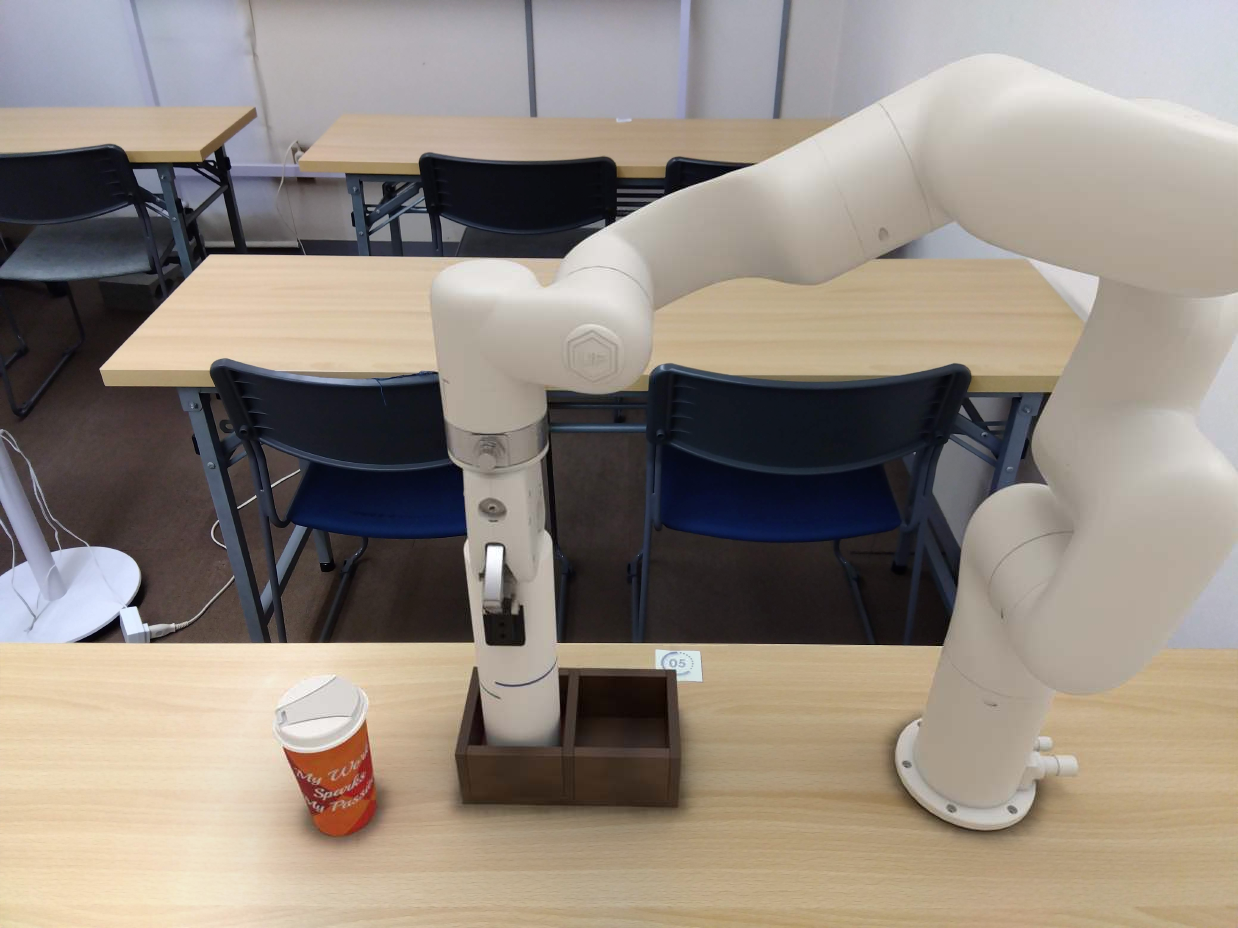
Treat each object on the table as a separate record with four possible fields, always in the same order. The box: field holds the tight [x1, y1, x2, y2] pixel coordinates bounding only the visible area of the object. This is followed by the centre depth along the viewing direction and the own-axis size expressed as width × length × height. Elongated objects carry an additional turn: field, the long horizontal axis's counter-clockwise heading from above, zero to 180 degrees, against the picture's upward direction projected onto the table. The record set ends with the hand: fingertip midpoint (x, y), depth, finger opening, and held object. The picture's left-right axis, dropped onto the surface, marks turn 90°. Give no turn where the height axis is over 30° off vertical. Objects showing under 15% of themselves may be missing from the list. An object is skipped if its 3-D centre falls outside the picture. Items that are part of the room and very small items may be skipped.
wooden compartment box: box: [454, 665, 682, 808], centre depth 82 cm, size 20×10×7 cm, turn 89°
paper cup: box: [271, 674, 378, 837], centre depth 75 cm, size 8×8×14 cm
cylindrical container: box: [463, 528, 562, 747], centre depth 76 cm, size 7×7×25 cm
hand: (512, 606), depth 73 cm, fingers open, 7 cm apart
